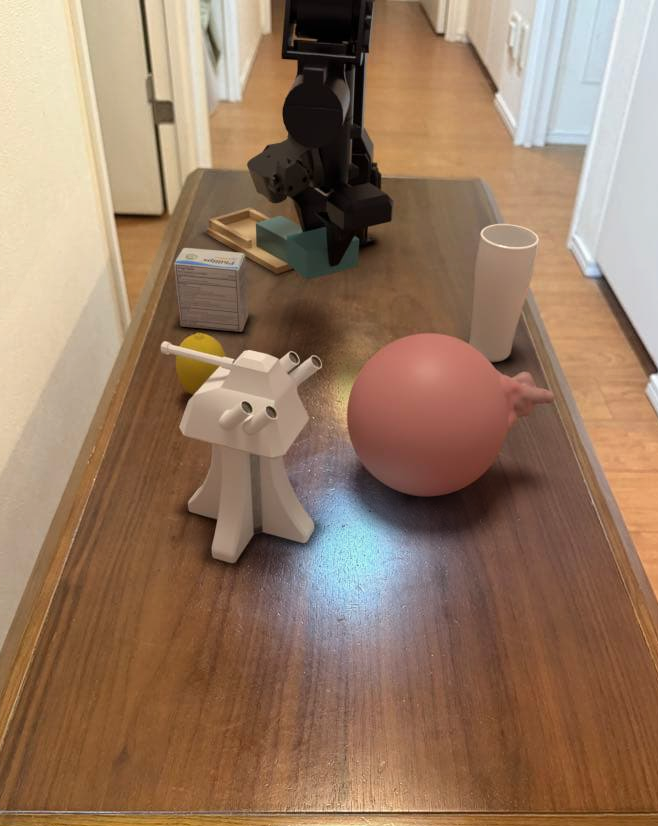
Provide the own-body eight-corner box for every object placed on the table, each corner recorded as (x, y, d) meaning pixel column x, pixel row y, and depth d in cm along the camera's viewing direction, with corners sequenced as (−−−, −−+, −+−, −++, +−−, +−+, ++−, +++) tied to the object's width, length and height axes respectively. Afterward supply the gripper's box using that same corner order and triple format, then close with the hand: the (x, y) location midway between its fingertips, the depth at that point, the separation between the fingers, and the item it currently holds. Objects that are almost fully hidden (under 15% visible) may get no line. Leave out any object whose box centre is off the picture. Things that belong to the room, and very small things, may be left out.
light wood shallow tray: (206, 234, 125) (204, 205, 122) (252, 220, 129) (251, 191, 126) (276, 274, 116) (276, 243, 113) (322, 258, 121) (323, 228, 118)
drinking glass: (522, 347, 105) (547, 231, 95) (506, 372, 101) (530, 253, 90) (472, 334, 107) (490, 218, 97) (454, 358, 102) (471, 239, 92)
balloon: (555, 527, 81) (594, 392, 70) (349, 530, 79) (357, 392, 68) (520, 433, 92) (549, 304, 81) (339, 434, 90) (345, 302, 79)
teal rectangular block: (337, 251, 101) (338, 223, 98) (358, 266, 98) (359, 238, 96) (286, 263, 98) (286, 235, 95) (307, 280, 95) (307, 251, 93)
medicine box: (249, 316, 107) (246, 251, 101) (242, 334, 104) (238, 268, 98) (188, 310, 108) (182, 245, 102) (180, 327, 104) (173, 261, 98)
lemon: (189, 416, 91) (182, 351, 85) (172, 390, 94) (165, 326, 89) (236, 405, 93) (233, 341, 87) (219, 379, 96) (214, 316, 91)
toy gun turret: (210, 465, 85) (194, 302, 72) (332, 497, 82) (338, 334, 70) (151, 540, 76) (123, 370, 64) (285, 578, 74) (283, 409, 61)
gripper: (214, 97, 88) (223, 239, 99) (305, 156, 78) (304, 308, 88) (304, 84, 93) (304, 221, 104) (402, 138, 82) (390, 284, 93)
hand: (322, 256), depth 97 cm, fingers closed on teal rectangular block, 4 cm apart
